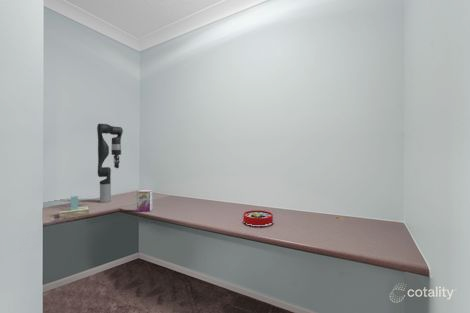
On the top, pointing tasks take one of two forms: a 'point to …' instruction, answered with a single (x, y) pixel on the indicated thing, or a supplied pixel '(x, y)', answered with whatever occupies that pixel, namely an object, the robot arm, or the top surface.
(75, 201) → the teal block
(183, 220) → the top surface
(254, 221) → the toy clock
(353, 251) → the top surface
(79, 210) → the birch plinth
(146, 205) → the candy bar box
